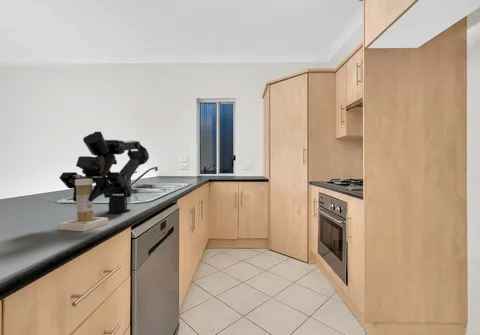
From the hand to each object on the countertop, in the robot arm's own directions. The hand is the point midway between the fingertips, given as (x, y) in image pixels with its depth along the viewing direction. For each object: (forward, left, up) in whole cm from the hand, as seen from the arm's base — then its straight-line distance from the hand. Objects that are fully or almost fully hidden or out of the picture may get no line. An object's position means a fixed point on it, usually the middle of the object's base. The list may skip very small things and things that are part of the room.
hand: (81, 200), depth 68 cm
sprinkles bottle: (-1, 0, -7) cm, 7 cm away
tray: (-1, 0, -8) cm, 8 cm away
